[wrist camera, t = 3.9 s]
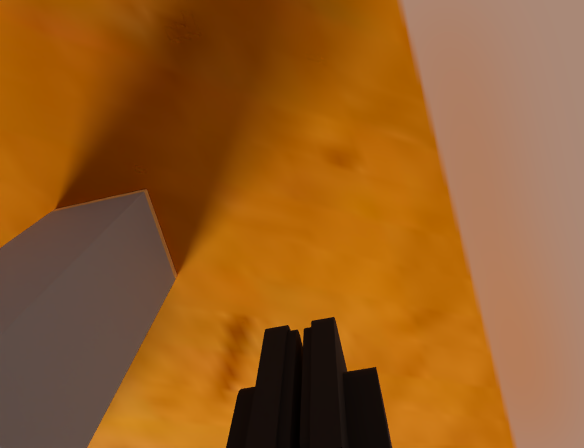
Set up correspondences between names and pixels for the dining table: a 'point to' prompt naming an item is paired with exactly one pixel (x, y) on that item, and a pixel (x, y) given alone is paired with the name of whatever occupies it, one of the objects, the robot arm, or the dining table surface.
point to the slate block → (76, 316)
